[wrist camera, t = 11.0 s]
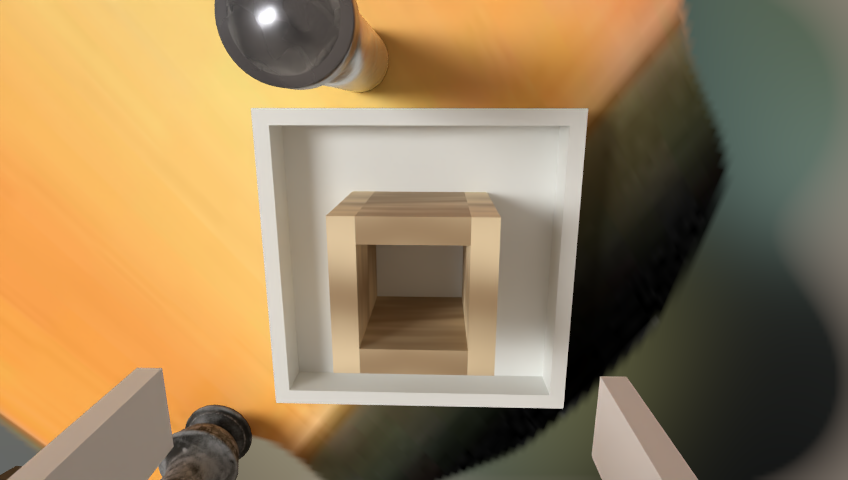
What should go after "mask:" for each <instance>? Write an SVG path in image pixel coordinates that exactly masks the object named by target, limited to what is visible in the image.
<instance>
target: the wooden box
mask: <svg viewBox="0 0 848 480" xmlns="http://www.w3.org/2000/svg"><path fill="white" fill-rule="evenodd" d="M500 231H501V217H500V215H499V213H498V211H497V209H496V208H495V206H494V204H493V202H492V201H491V199H490V197H489V195H488V193H487V192H387V191H352V192H351V193H350V194H349V195H348V196H347V197H346V198H345V199H344V200H343V201H341V202H340V203H339V204H338V205H337V206H336V207H335V208H334V209H333V210H332V211H331V212H329V213H328V214H327V215H326V233H327V253H328V273H329V293H330V313H331V333H332V353H333V372H334V373H368V374H421V375H474V376H494V371H495V347H496V324H497V301H498V277H499V254H500ZM376 245H457V246H463V270H462V297H402V296H377V265H376Z"/></svg>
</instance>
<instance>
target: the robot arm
mask: <svg viewBox="0 0 848 480" xmlns="http://www.w3.org/2000/svg"><path fill="white" fill-rule="evenodd" d="M173 447H174V445H173V438H172V431H171V425H170V418H169V412H168V405H167V398H166V392H165V385H164V379H163V372H162V368H136V369H135V370H134V371H133V372H132V373H130V374H129V375H128V376H127V377H126V378H125V379H123V380H122V381H121V382H120V383H119V384H118V385H117V386H115V387H114V388H113V389H112V390H111V391H110V392H108V393H107V394H106V395H105V396H104V397H103V398H101V399H100V400H99V401H98V402H97V403H96V404H94V405H93V406H92V407H91V408H90V409H89V410H87V411H86V412H85V413H84V414H83V415H82V416H80V417H79V418H78V419H77V420H76V421H75V422H74V423H72V424H71V425H70V426H69V427H68V428H67V429H65V430H64V431H63V432H62V433H61V434H60V435H58V436H57V437H56V438H55V439H54V440H53V441H51V442H50V443H49V444H48V445H47V446H46V447H44V448H43V449H42V450H41V451H40V452H39V453H37V454H36V455H35V456H34V457H33V458H32V459H31V460H30V461H28V462H27V463H26V464H25V465H24V466H15V467H14V468H12V469H10V470H8V471H6V472H5V473H3V474H1V475H0V480H148V479H149V477H150V476H151V475H152V473H153V472H154V471H155V470H156V468H157V467H158V466H159V465H160V463H161V462H162V461H163V459H164V458H165V457H166V456H167V454H168V453H169V452H170V451H171V449H172V448H173ZM592 458H593V460H594V462H595V464H596V467H597V469H598V471H599V473H600V476H601V478H602V480H698V479H697V478H696V476H695V475H694V473H693V472H692V470H691V469H690V467H689V466H688V465H687V463H686V462H685V460H684V459H683V458H682V456H681V455H680V453H679V452H678V450H677V449H676V447H675V446H674V444H673V443H672V442H671V440H670V439H669V437H668V436H667V434H666V433H665V431H664V430H663V429H662V427H661V426H660V424H659V423H658V421H657V420H656V419H655V417H654V416H653V414H652V413H651V411H650V410H649V408H648V407H647V406H646V404H645V403H644V401H643V400H642V398H641V397H640V395H639V394H638V393H637V391H636V390H635V388H634V387H633V385H632V384H631V382H630V381H629V380H628V378H627V377H610V376H600V384H599V393H598V402H597V413H596V421H595V431H594V440H593V450H592Z"/></svg>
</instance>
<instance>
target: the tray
mask: <svg viewBox="0 0 848 480" xmlns="http://www.w3.org/2000/svg"><path fill="white" fill-rule="evenodd" d="M251 115H252V126H253V138H254V149H255V161H256V173H257V184H258V196H259V208H260V219H261V231H262V243H263V254H264V266H265V277H266V289H267V301H268V312H269V324H270V336H271V347H272V359H273V371H274V382H275V394H276V403H312V404H362V405H413V406H463V407H513V408H563V406H564V394H565V382H566V370H567V358H568V346H569V334H570V322H571V310H572V298H573V286H574V274H575V262H576V250H577V238H578V226H579V214H580V202H581V190H582V178H583V166H584V154H585V142H586V130H587V118H588V108H251ZM352 191H387V192H487V193H488V195H489V197H490V199H491V201H492V202H493V204H494V206H495V208H496V209H497V211H498V213H499V215H500V217H501V231H500V254H499V277H498V301H497V324H496V347H495V371H494V376H474V375H421V374H368V373H334V372H333V353H332V333H331V313H330V293H329V273H328V253H327V233H326V215H327V214H328V213H329V212H331V211H332V210H333V209H334V208H335V207H336V206H337V205H338V204H339V203H340V202H341V201H343V200H344V199H345V198H346V197H347V196H348V195H349V194H350V193H351V192H352ZM376 265H377V296H402V297H462V270H463V246H457V245H376Z"/></svg>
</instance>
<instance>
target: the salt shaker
mask: <svg viewBox="0 0 848 480" xmlns="http://www.w3.org/2000/svg"><path fill="white" fill-rule="evenodd" d="M172 438H173V445H174V447H173V448H172V449H171V451H170V452H169V453H168V454H167V456H166V457H165V458H164V459H163V461H162V462H161V463H160V465H159V466H158V467H159V470H160V473H161V475H162V479H161V480H236V478H237V475H238V460H239V459H240V458H241V457H243V456H244V455H245V454H246V453H247V451H248V450H249V448H250V445H251V441H252V434H251V429H250V427H249V425H248V423H247V421H246V420H245V419H244V418H243V417H242V416H241V415H240V414H239V413H238V412H236V411H235V410H233V409H231V408H228V407H225V406H220V405H209V406H205V407H202V408H199V409H198V410H196V411H195V412H194V413H193V414H192V415H191V416H190V418H189V419H188V421H187V424H186V427H185V429H183V430H181V431H179V432H177V433H174V434H173V435H172Z"/></svg>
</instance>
